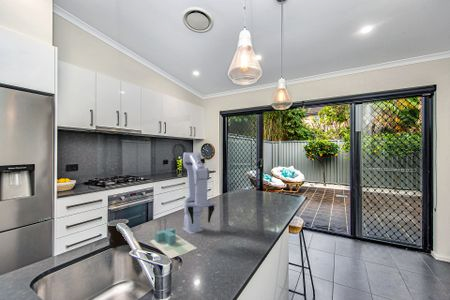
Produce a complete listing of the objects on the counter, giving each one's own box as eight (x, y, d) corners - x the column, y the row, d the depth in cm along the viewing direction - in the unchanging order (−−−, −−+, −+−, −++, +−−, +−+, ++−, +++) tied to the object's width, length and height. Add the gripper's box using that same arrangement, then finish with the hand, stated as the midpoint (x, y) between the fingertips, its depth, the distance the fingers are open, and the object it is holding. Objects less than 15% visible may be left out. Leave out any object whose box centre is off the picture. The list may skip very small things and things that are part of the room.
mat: (149, 241, 92) (149, 240, 92) (174, 234, 101) (174, 233, 101) (170, 260, 76) (170, 258, 76) (198, 249, 85) (198, 248, 85)
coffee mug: (108, 241, 92) (109, 220, 92) (129, 239, 95) (129, 218, 95) (103, 253, 81) (103, 229, 81) (125, 249, 84) (126, 226, 84)
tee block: (154, 240, 92) (155, 232, 92) (172, 235, 98) (172, 227, 99) (163, 247, 86) (163, 238, 86) (181, 241, 92) (181, 233, 92)
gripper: (185, 196, 86) (185, 226, 86) (217, 194, 89) (217, 224, 89) (185, 192, 93) (185, 221, 93) (215, 191, 96) (214, 219, 96)
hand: (200, 222), depth 91 cm, fingers open, 7 cm apart
